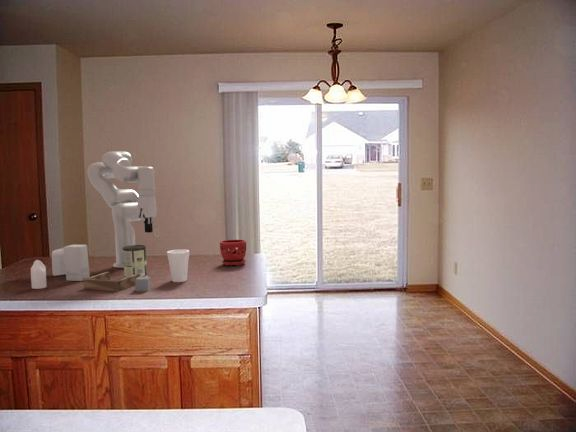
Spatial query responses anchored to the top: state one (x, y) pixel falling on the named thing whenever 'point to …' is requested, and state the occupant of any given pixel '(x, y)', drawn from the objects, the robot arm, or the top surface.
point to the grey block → (143, 284)
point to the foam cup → (178, 264)
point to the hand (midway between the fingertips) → (148, 232)
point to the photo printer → (58, 262)
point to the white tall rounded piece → (38, 275)
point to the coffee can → (135, 260)
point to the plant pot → (236, 255)
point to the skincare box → (76, 262)
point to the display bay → (109, 282)
